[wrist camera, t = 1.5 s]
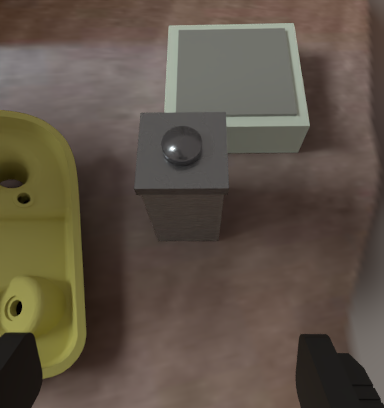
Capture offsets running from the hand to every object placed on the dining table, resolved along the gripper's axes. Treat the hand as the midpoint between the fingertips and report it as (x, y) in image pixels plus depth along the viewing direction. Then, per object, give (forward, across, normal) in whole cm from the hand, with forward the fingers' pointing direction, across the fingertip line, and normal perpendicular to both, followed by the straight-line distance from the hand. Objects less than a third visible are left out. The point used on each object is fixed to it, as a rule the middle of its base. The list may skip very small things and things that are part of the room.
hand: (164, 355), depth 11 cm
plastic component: (+17, +14, +6) cm, 23 cm away
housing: (+20, 0, +3) cm, 20 cm away
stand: (+28, -4, -5) cm, 29 cm away
